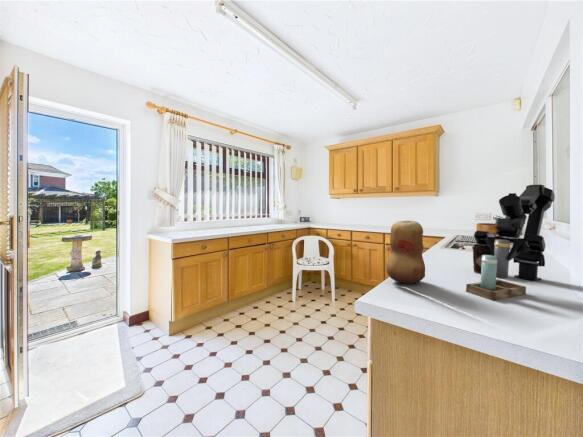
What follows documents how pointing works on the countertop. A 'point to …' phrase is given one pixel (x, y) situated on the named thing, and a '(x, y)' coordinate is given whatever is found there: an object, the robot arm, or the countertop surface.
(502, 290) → the slot rack
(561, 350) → the countertop surface
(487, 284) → the plug teal
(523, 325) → the countertop surface
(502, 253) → the plug charcoal
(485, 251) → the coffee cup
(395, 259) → the butternut squash
